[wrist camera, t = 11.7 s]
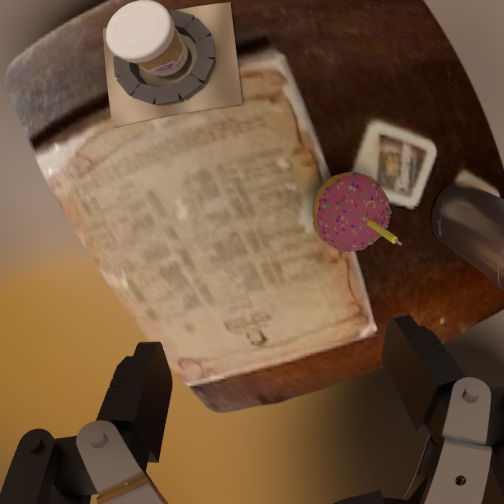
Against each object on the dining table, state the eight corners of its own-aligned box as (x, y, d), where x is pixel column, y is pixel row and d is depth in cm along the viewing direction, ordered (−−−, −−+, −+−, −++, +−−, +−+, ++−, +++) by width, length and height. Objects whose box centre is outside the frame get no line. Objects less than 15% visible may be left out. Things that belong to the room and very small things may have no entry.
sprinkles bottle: (164, 89, 29) (124, 72, 17) (142, 58, 28) (92, 27, 15) (201, 64, 28) (183, 30, 16) (178, 33, 27) (148, -14, 14)
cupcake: (380, 177, 36) (435, 205, 25) (359, 242, 39) (402, 289, 28) (314, 157, 34) (353, 176, 23) (295, 227, 38) (321, 274, 27)
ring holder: (230, 5, 27) (230, -10, 23) (242, 105, 32) (243, 102, 27) (106, 31, 27) (90, 21, 22) (116, 127, 31) (100, 129, 27)
